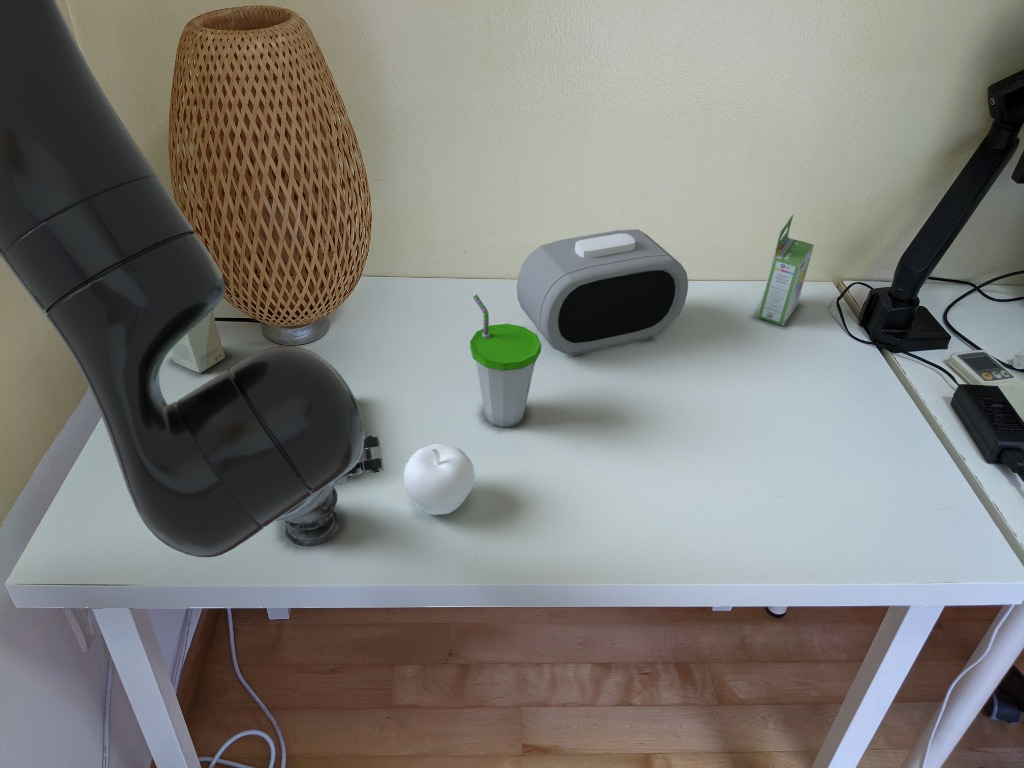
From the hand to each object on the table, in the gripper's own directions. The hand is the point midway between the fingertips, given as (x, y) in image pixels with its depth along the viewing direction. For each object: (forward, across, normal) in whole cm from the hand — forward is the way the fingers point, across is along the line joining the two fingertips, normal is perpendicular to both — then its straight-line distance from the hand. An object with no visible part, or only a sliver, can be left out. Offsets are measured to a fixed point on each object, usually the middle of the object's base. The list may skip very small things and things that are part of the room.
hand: (297, 471), depth 67 cm
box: (+33, +12, -18) cm, 39 cm away
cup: (+19, -23, -3) cm, 30 cm away
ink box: (+28, -67, -13) cm, 74 cm away
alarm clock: (+29, -40, -13) cm, 51 cm away
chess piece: (+11, 0, +5) cm, 12 cm away
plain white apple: (+11, -13, +5) cm, 18 cm away
